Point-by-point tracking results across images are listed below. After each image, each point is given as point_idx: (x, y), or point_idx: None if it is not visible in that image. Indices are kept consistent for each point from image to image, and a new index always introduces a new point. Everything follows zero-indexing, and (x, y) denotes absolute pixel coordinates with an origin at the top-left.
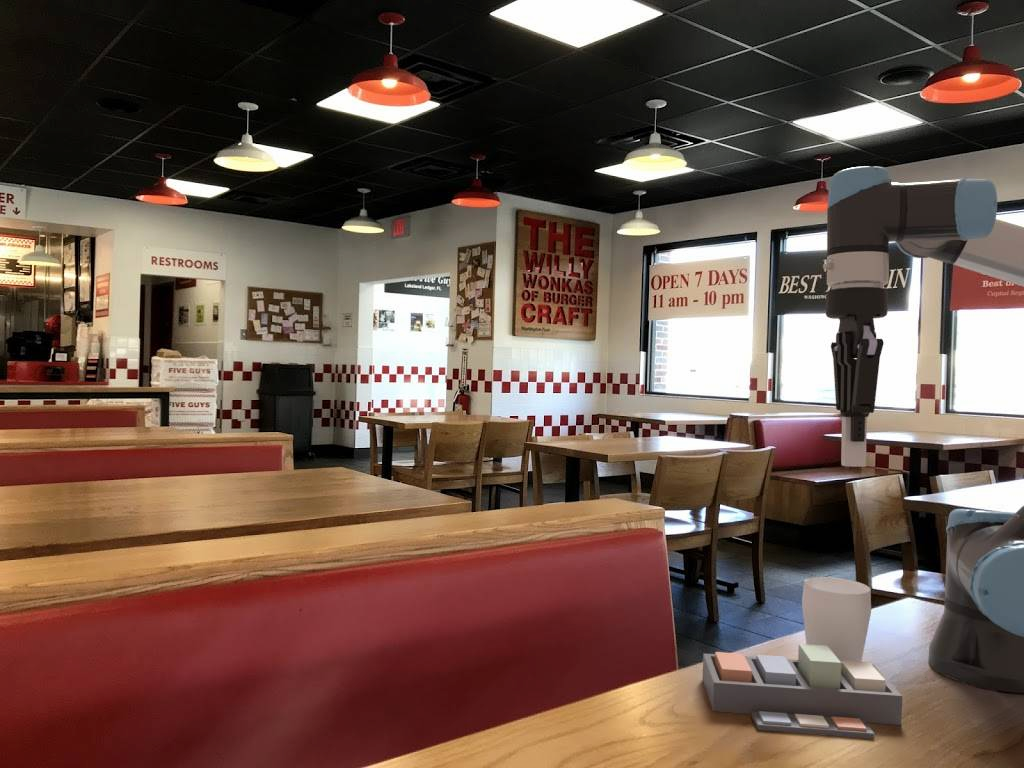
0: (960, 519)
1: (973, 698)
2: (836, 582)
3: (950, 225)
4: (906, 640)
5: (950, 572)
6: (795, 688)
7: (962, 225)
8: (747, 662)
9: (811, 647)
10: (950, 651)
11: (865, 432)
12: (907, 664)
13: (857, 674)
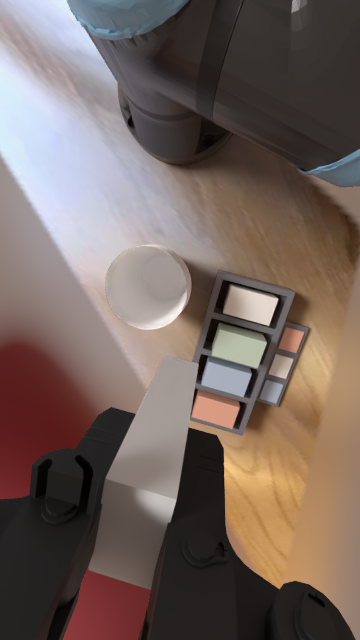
0: (147, 17)
1: (245, 172)
2: (111, 267)
3: None
4: (81, 133)
5: (150, 93)
6: (263, 378)
7: None
8: (219, 402)
9: (222, 348)
10: (189, 150)
11: (184, 437)
12: (154, 185)
13: (260, 317)
